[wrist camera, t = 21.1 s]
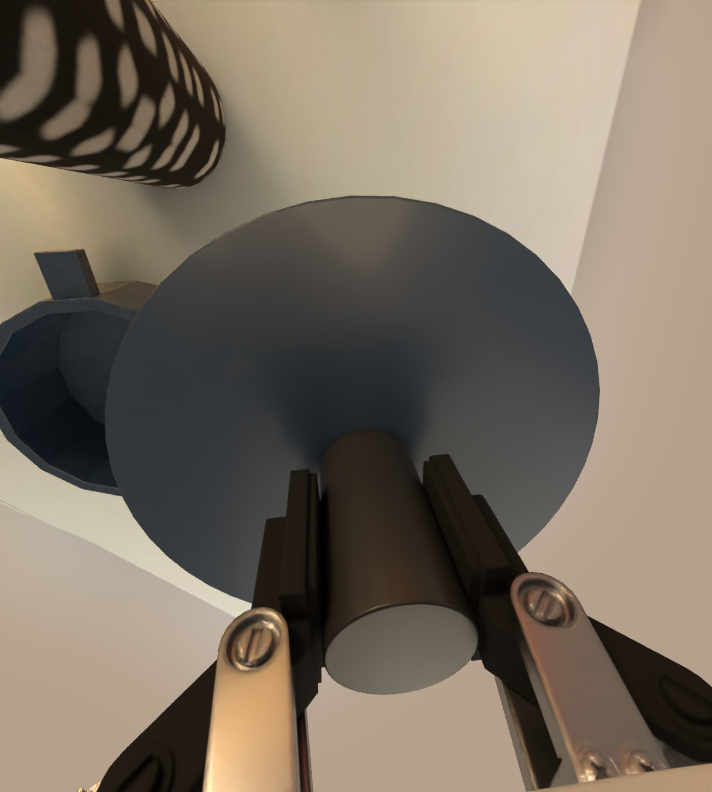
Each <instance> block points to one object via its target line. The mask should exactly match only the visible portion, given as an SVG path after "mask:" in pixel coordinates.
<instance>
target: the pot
mask: <svg viewBox="0 0 712 792" xmlns="http://www.w3.org/2000/svg"><path fill="white" fill-rule="evenodd" d="M34 255H35V257H36V260H37V262H38V265H39V267H40V269H41V272H42V274H43V276H44V279H45V281H46V284H47V286H48V288H49V291H50V293H51V295H52V298H50V299H46V300H43V301H40V302H38V303H36V304H34V305H32V306H31V307H29V308H27V309H25V310H24V311H22V312H20V313H18V314H17V315H15V316H13V317H11V318H10V319H8V320H6V321H4V322H3V323H1V325H0V429H1V431H2V432H3V434H4V436H5V437H6V439H7V440H8V441H9V442H10V443H11V444H12V445H13V446H15V447H16V448H17V449H18V450H19V451H20V452H22V453H23V454H24V455H25V456H26V457H27V458H28V459H30V460H31V461H32V462H33V463H34V464H35V465H37V466H38V467H39V468H40V469H42V470H43V471H46V472H48V473H50V474H52V475H54V476H56V477H58V478H60V479H62V480H65V481H67V482H69V483H71V484H73V485H75V486H77V487H79V488H81V489H85V490H90V491H96V492H101V493H107V494H112V495H117V496H122V495H121V493H120V491H119V488H118V485H117V483H116V480H115V477H114V474H113V472H112V469H111V465H110V460H109V455H108V449H107V444H106V437H105V405H106V398H107V392H108V385H109V378H110V375H111V372H112V369H113V366H114V363H115V360H116V357H117V354H118V351H119V348H120V345H121V343H122V341H123V339H124V337H125V335H126V334H127V332H128V330H129V328H130V326H131V324H132V322H133V321H134V319H135V317H136V315H137V313H138V312H139V311H140V309H141V308H142V307H143V305H144V304H145V303H146V302H147V300H148V299H149V298H150V296H151V295H152V294H153V293H154V291H155V290H156V289H157V287H158V286H156V285H152V284H148V283H142V282H138V281H134V282H114V283H103V284H97V283H96V280H95V278H94V275H93V272H92V269H91V267H90V264H89V261H88V258H87V256H86V253H85V250H84V249H76V250H60V251H44V252H36V253H34Z"/></svg>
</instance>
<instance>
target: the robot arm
mask: <svg viewBox="0 0 712 792" xmlns="http://www.w3.org/2000/svg"><path fill="white" fill-rule="evenodd" d="M423 488H424V490H425V493H426V495H427V498H428V500H429V503H430V505H431V508H432V511H433V513H434V516H435V518H436V521H437V523H438V526H439V528H440V531H441V534H442V536H443V539H444V541H445V544H446V546H447V549H448V551H449V554H450V556H451V559H452V562H453V564H454V567H455V569H456V572H457V574H458V577H459V579H460V582H461V585H462V587H463V590H464V592H465V595H466V597H467V600H468V602H469V605H470V607H471V610H472V613H473V615H474V618H475V620H476V623H477V625H478V628H479V644H478V647H477V650H476V652H475V654H474V655H473V657H472V658H471V660H472V661H475V660H482V662H483V665H484V668H485V669H486V670H488V671H489V672H491V673H492V674H493V675H495V680H496V684H497V688H498V691H499V695H500V699H501V702H502V706H503V710H504V713H505V717H506V720H507V724H508V727H509V731H510V735H511V738H512V742H513V746H514V749H515V752H516V756H517V760H518V764H519V767H520V771H521V774H522V778H523V782H524V785H525V789H526V792H712V687H711V686H710V685H709V684H708V683H707V682H705V681H704V680H703V679H702V678H701V677H699V676H698V675H696V674H695V673H693V672H692V671H690V670H689V669H687V668H685V667H683V666H682V665H680V664H678V663H676V662H674V661H672V660H670V659H668V658H666V657H664V656H663V655H661V654H659V653H657V652H655V651H653V650H651V649H649V648H647V647H645V646H644V645H642V644H640V643H638V642H636V641H634V640H632V639H630V638H629V637H627V636H625V635H622V634H621V633H619V632H617V631H615V630H613V629H612V628H610V627H608V626H606V625H604V624H602V623H600V622H598V621H596V620H595V619H592V618H591V617H589V616H587V615H586V613H585V611H584V609H583V607H582V606H581V604H580V602H579V600H578V599H577V597H576V596H575V595H574V593H573V592H572V591H571V590H570V589H569V588H568V587H567V586H566V585H565V584H563V583H562V582H560V581H559V580H557V579H555V578H553V577H551V576H549V575H546V574H543V573H536V572H530V573H529V572H528V570H527V568H526V567H525V565H524V563H523V561H522V560H521V558H520V556H519V555H518V553H517V551H516V550H515V548H514V546H513V545H512V543H511V541H510V539H509V538H508V536H507V534H506V533H505V531H504V529H503V528H502V526H501V524H500V523H499V521H498V519H497V518H496V516H495V514H494V512H493V511H492V509H491V507H490V506H489V504H488V502H487V501H486V499H485V498H484V496H482V495H481V494H477V495H471V493H470V491H469V489H468V487H467V486H466V484H465V482H464V480H463V478H462V477H461V475H460V473H459V471H458V469H457V468H456V466H455V464H454V462H453V460H452V458H451V457H450V455H449V454H441V455H432V456H430V457H429V461H424V463H423ZM322 667H325V666H324V662H323V635H322V568H321V502H320V495H319V487H318V480H317V473H310V471H309V469H301V470H292V471H290V480H289V490H288V500H287V510H286V516H285V517H276V518H268V519H267V520H266V523H265V528H264V534H263V540H262V546H261V553H260V559H259V565H258V571H257V577H256V583H255V589H254V595H253V601H252V607H251V610H248V611H246V612H244V613H242V614H241V615H240V616H238V617H237V618H235V619H234V620H233V622H232V623H231V624H230V625H229V626H228V627H227V629H226V630H225V632H224V634H223V636H222V638H221V641H220V645H219V649H218V657H217V660H216V661H215V662H214V663H213V664H212V665H211V666H210V667H209V668H208V669H207V670H206V671H205V672H204V673H203V674H202V675H201V676H200V677H199V678H198V679H197V680H196V681H195V682H194V683H193V684H192V685H191V686H189V687H188V688H187V689H186V690H185V691H184V692H183V693H182V694H181V695H180V696H179V697H178V698H177V699H176V700H175V701H174V702H173V703H172V704H171V705H170V706H169V707H168V708H167V709H166V710H165V711H164V712H163V713H162V714H161V715H160V716H159V717H158V718H157V719H156V720H155V721H154V722H153V723H152V724H151V725H150V726H149V727H148V728H147V729H146V730H145V731H144V732H143V733H141V734H140V735H139V736H138V738H136V739H135V740H134V741H133V742H132V743H131V744H130V745H129V746H128V747H127V748H126V749H125V750H124V751H123V752H122V753H121V754H120V756H119V757H118V758H117V759H116V760H115V761H114V763H113V764H112V765H111V766H110V768H109V769H108V771H107V773H106V774H105V776H104V777H103V779H102V781H100V782H99V783H98V784H96V785H95V786H93V787H92V788H91V789H89V790H88V791H86V792H313V784H312V771H311V759H310V747H309V734H308V723H307V709H306V708H307V707H308V705H309V704H310V702H311V701H312V700H313V699H314V697H315V696H316V694H317V693H318V683H321V668H322ZM77 792H85V791H84V790H83V789H80V790H79V791H77Z"/></svg>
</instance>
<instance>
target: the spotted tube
mask: <svg viewBox="0 0 712 792" xmlns="http://www.w3.org/2000/svg"><path fill="white" fill-rule="evenodd" d="M224 142H225V118H224V111H223V108H222V104H221V100H220V97H219V95H218V92H217V90H216V88H215V85H214V83H213V81H212V80H211V78H210V77H209V75H208V74H207V72H206V70H205V69H204V67H203V66H202V65H201V64H200V62H199V61H198V60H197V59H196V57H195V56H194V55H193V53H192V52H191V51H190V50H189V48H188V47H187V46H186V45H185V43H184V42H183V41H182V39H181V38H180V37H179V36H178V34H177V33H176V32H175V31H174V29H173V28H172V27H171V25H170V24H169V23H168V22H167V20H166V19H165V18H164V16H163V15H162V14H161V13H160V11H159V10H158V9H157V8H156V6H155V5H154V4H153V2H152V1H151V0H0V158H4V159H10V160H15V161H21V162H26V163H32V164H37V165H43V166H48V167H54V168H59V169H64V170H70V171H75V172H81V173H86V174H92V175H97V176H103V177H108V178H114V179H119V180H125V181H130V182H135V183H141V184H146V185H152V186H157V187H163V188H174V189H180V188H185V187H190V186H192V185H194V184H197V183H199V182H201V181H202V180H203V179H204V178H206V177H207V176H208V175H209V174H210V173H211V172H212V170H213V169H214V168H215V167H216V165H217V163H218V161H219V159H220V157H221V154H222V150H223V146H224Z"/></svg>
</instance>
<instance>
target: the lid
mask: <svg viewBox="0 0 712 792" xmlns="http://www.w3.org/2000/svg"><path fill="white" fill-rule="evenodd" d="M599 394H600V387H599V375H598V364H597V359H596V355H595V351H594V347H593V343H592V340H591V336H590V333H589V331H588V328H587V326H586V324H585V322H584V319H583V317H582V315H581V313H580V310H579V308H578V306H577V305H576V303H575V302H574V300H573V299H572V297H571V296H570V294H569V293H568V291H567V290H566V288H565V287H564V285H563V284H562V282H561V281H560V279H559V278H558V277H557V276H556V275H555V274H554V273H553V272H552V271H551V270H550V269H549V268H548V267H547V266H546V264H545V263H544V262H543V261H542V260H541V259H540V258H539V257H538V256H537V255H536V254H534V253H533V252H532V251H530V250H529V249H528V248H526V247H525V246H524V245H522V244H521V243H520V242H519V241H517V240H516V239H515V238H513V237H512V236H511V235H509V234H508V233H506V232H504V231H502V230H500V229H498V228H496V227H494V226H492V225H491V224H489V223H487V222H485V221H483V220H481V219H479V218H477V217H475V216H473V215H470V214H467V213H464V212H461V211H458V210H455V209H452V208H449V207H446V206H443V205H440V204H437V203H431V202H425V201H419V200H414V199H408V198H402V197H396V196H345V197H338V198H330V199H323V200H316V201H309V202H304V203H301V204H298V205H294V206H291V207H287V208H284V209H281V210H277V211H274V212H270V213H267V214H264V215H262V216H260V217H257V218H255V219H253V220H251V221H249V222H247V223H245V224H242V225H240V226H238V227H236V228H234V229H232V230H230V231H227V232H225V233H224V234H222V235H221V236H219V237H218V238H216V239H215V240H213V241H212V242H210V243H209V244H207V245H206V246H204V247H203V248H201V249H200V250H198V251H197V252H195V253H194V254H192V255H191V256H190V257H189V258H187V259H186V260H185V261H184V262H183V263H182V264H181V265H180V266H179V267H178V268H177V269H176V270H175V271H173V272H172V273H171V274H170V275H169V276H168V277H167V278H166V279H165V280H164V281H163V282H162V283H161V284H160V285H159V286H158V287H157V289H156V290H155V291H154V293H153V294H152V295H151V296H150V298H149V299H148V300H147V302H146V303H145V304H144V305H143V307H142V308H141V309H140V311H139V312H138V313H137V315H136V317H135V319H134V321H133V322H132V324H131V326H130V328H129V330H128V332H127V334H126V335H125V337H124V339H123V341H122V343H121V345H120V348H119V351H118V354H117V357H116V360H115V363H114V366H113V369H112V372H111V375H110V378H109V385H108V392H107V398H106V405H105V437H106V444H107V449H108V455H109V460H110V465H111V469H112V472H113V474H114V477H115V480H116V483H117V485H118V488H119V491H120V493H121V495H122V497H123V499H124V501H125V503H126V504H127V506H128V508H129V510H130V512H131V513H132V515H133V517H134V518H135V520H136V521H137V522H138V524H139V525H140V526H141V528H142V529H143V530H144V532H145V533H146V534H147V536H148V537H149V538H150V539H151V540H152V541H153V542H154V543H155V544H156V545H157V546H158V547H159V548H160V549H161V550H162V551H163V552H164V553H165V554H166V555H167V556H168V557H169V558H170V559H171V560H173V561H174V562H175V563H177V564H178V565H179V566H180V567H182V568H183V569H184V570H185V571H187V572H188V573H190V574H191V575H193V576H195V577H196V578H198V579H200V580H201V581H203V582H204V583H206V584H208V585H209V586H211V587H214V588H216V589H218V590H220V591H222V592H224V593H226V594H228V595H230V596H233V597H236V598H238V599H241V600H244V601H247V602H250V603H252V601H253V595H254V589H255V583H256V577H257V571H258V565H259V559H260V553H261V546H262V540H263V534H264V528H265V523H266V520H267V519H268V518H276V517H285V516H286V510H287V500H288V490H289V480H290V471H292V470H301V469H309V471H310V473H317V480H318V487H319V495H320V502H321V568H322V635H323V662H324V666H325V668H326V670H327V672H328V674H329V675H330V676H331V678H332V679H333V680H335V681H336V682H337V683H339V684H340V685H342V686H344V687H346V688H348V689H351V690H354V691H357V692H362V693H367V694H380V695H387V694H399V693H406V692H411V691H415V690H420V689H423V688H426V687H429V686H432V685H434V684H437V683H439V682H441V681H443V680H445V679H447V678H449V677H450V676H452V675H453V674H455V673H456V672H458V671H459V670H460V669H462V668H463V667H464V666H465V665H466V664H467V663H468V661H470V659H471V658H472V657H473V655H474V654H475V652H476V650H477V647H478V644H479V628H478V625H477V623H476V620H475V618H474V615H473V613H472V610H471V607H470V605H469V602H468V600H467V597H466V595H465V592H464V590H463V587H462V585H461V582H460V579H459V577H458V574H457V572H456V569H455V567H454V564H453V562H452V559H451V556H450V554H449V551H448V549H447V546H446V544H445V541H444V539H443V536H442V534H441V531H440V528H439V526H438V523H437V521H436V518H435V516H434V513H433V511H432V508H431V505H430V503H429V500H428V498H427V495H426V493H425V490H424V488H423V463H424V461H429V457H430V456H432V455H441V454H449V455H450V457H451V458H452V460H453V462H454V464H455V466H456V468H457V469H458V471H459V473H460V475H461V477H462V478H463V480H464V482H465V484H466V486H467V487H468V489H469V491H470V493H471V495H477V494H481V495H482V496H484V498H485V499H486V501H487V502H488V504H489V506H490V507H491V509H492V511H493V512H494V514H495V516H496V518H497V519H498V521H499V523H500V524H501V526H502V528H503V529H504V531H505V533H506V534H507V536H508V538H509V539H510V541H511V543H512V545H513V546H514V548H515V550H516V551H517V552H518V551H520V550H521V549H522V548H523V547H524V546H526V545H527V544H528V542H530V541H531V540H532V539H533V538H534V537H535V536H536V535H537V534H538V533H539V532H540V531H541V530H542V529H543V528H544V527H545V526H546V524H547V523H548V522H549V521H550V519H551V518H552V517H553V516H554V515H555V513H556V512H557V511H558V510H559V509H560V507H561V506H562V504H563V503H564V501H565V499H566V498H567V496H568V495H569V493H570V492H571V490H572V489H573V487H574V485H575V483H576V481H577V479H578V477H579V475H580V473H581V471H582V469H583V467H584V465H585V462H586V459H587V457H588V454H589V451H590V448H591V445H592V442H593V438H594V433H595V429H596V424H597V419H598V409H599Z"/></svg>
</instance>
